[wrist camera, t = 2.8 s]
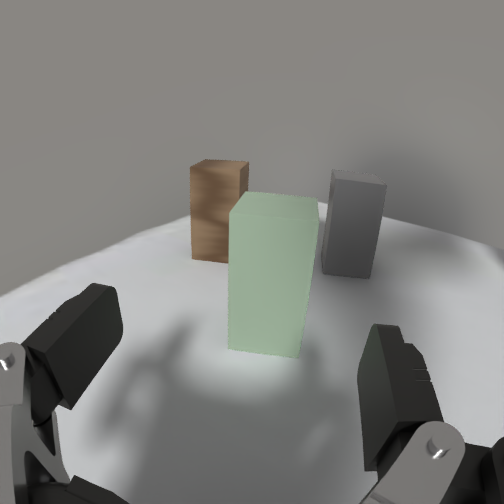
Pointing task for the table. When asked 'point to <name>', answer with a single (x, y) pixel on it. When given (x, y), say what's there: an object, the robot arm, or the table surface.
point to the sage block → (270, 271)
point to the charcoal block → (352, 223)
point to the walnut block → (214, 205)
